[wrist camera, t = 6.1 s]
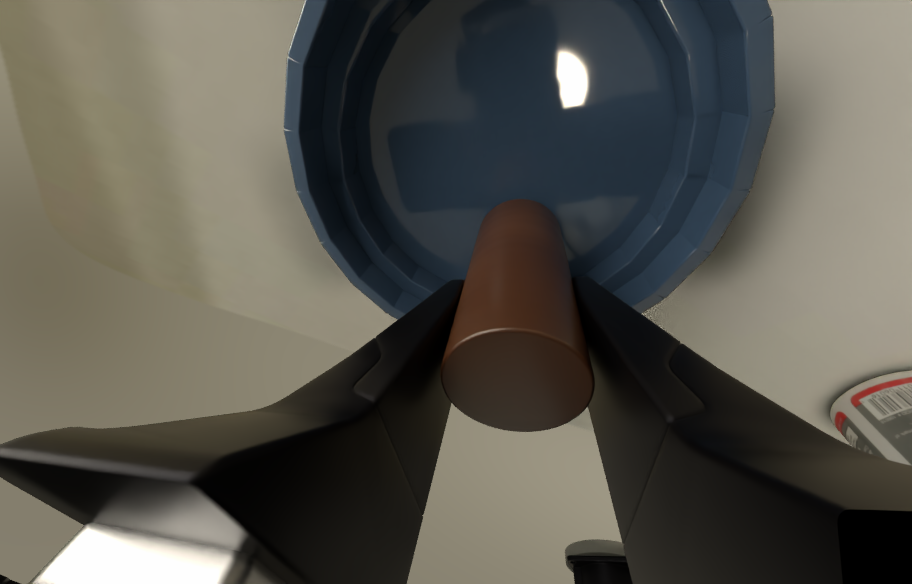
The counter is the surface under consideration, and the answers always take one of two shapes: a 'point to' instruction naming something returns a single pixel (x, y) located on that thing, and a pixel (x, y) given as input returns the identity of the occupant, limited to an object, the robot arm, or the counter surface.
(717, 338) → the counter surface
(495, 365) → the brown cylinder
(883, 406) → the pill bottle
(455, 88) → the bowl
